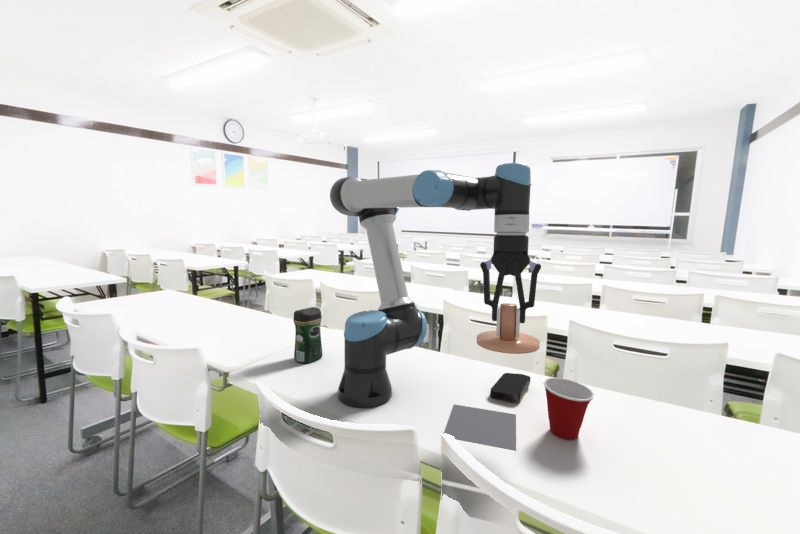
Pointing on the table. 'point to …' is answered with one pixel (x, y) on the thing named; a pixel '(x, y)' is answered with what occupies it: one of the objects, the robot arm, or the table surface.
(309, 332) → the coffee jar
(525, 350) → the lid
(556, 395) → the plastic cup
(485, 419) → the mat
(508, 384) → the black sponge
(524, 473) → the table surface
